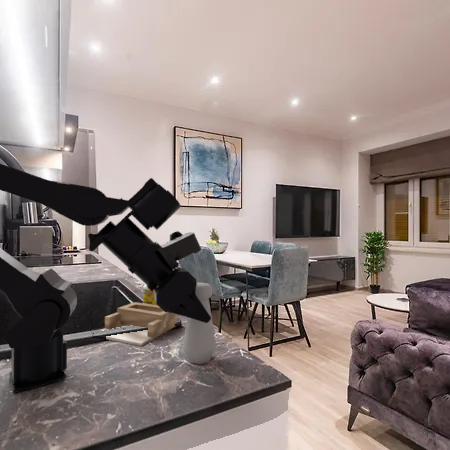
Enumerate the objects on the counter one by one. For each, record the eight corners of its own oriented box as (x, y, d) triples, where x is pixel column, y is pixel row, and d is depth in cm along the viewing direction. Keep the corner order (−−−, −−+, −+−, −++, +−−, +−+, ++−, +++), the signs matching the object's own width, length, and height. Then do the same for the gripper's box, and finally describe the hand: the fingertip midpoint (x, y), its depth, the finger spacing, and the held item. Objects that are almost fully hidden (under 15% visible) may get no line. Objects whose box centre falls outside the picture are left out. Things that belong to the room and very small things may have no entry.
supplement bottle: (168, 312, 81) (168, 275, 81) (151, 317, 77) (152, 278, 77) (155, 308, 85) (155, 273, 85) (138, 312, 81) (139, 275, 81)
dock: (141, 346, 59) (141, 325, 59) (91, 335, 64) (92, 316, 64) (177, 325, 71) (177, 308, 71) (133, 318, 76) (134, 302, 76)
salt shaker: (218, 352, 56) (219, 281, 56) (213, 367, 51) (214, 287, 51) (186, 350, 57) (187, 280, 57) (178, 365, 51) (179, 286, 51)
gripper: (181, 214, 43) (254, 288, 47) (165, 216, 61) (218, 270, 65) (121, 273, 41) (202, 347, 44) (122, 257, 59) (180, 311, 62)
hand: (202, 312), depth 54 cm, fingers open, 9 cm apart
